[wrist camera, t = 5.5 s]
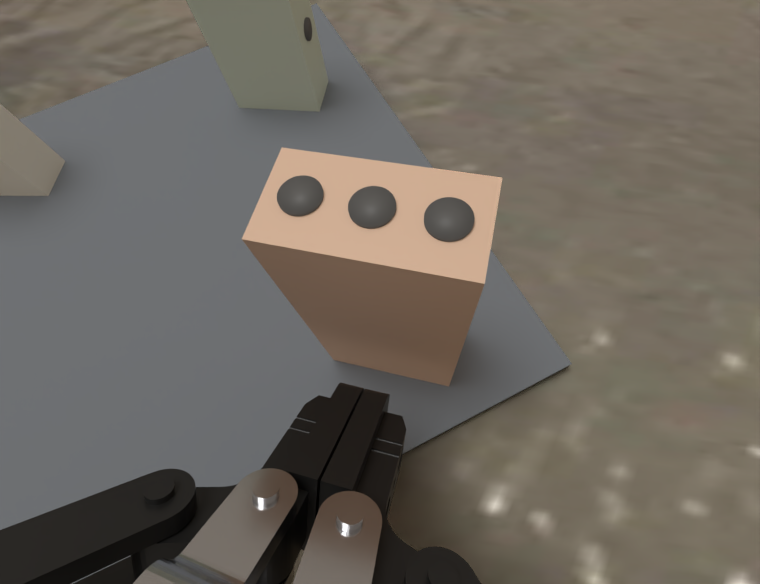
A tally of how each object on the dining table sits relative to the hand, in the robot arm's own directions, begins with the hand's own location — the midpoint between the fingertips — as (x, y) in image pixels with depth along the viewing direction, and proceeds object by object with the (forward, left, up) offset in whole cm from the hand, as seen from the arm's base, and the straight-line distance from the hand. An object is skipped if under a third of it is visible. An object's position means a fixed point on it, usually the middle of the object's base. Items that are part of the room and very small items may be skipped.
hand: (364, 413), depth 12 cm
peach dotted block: (+2, +3, -5) cm, 6 cm away
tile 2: (+3, +20, -5) cm, 21 cm away
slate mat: (-5, +13, -5) cm, 15 cm away
